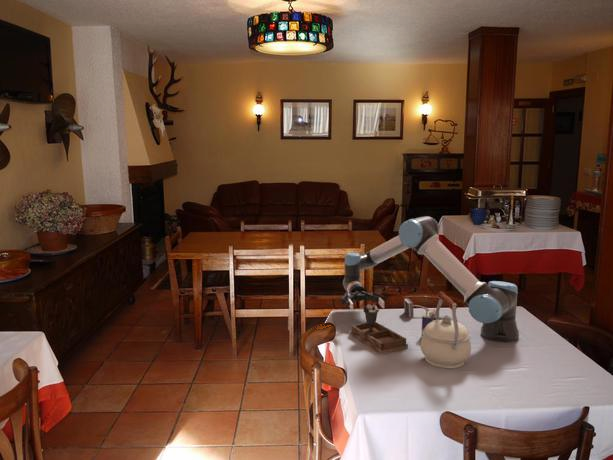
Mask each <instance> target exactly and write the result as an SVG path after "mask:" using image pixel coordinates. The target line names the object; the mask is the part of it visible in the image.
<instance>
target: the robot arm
mask: <svg viewBox="0 0 613 460" xmlns="http://www.w3.org/2000/svg"><path fill="white" fill-rule="evenodd" d="M439 233H440V225H439V223H438V221H437V220H436V219H435V218H433V217H431V216H429V215H428V216H427V215H424V216H419V217H416V218H409V219H408V220H406V221H403V223H402V224H401V225H400V227H399V229H398V235H397V236H394V237H393V238H391V239H389V240H388V241H385V242H383V243H381V244H379V245H378V246H376V247H374V248H373V249H371V250H367V252H365V253H362V254H360V253H359V252H347V253H346V254H345V256H344V278H343V280H342V285H343V288H344V290H345V291H346V292H344V295H343V296H342V297H340V305H345V307H349V309H350V310H351V311H353V310H354V303H353V302H361V301H367V302H369V301H370V302H372V301H373V302H374V298H376V299H375V303H378V305H379V306H380V307H381V308H382V309H385V303H387V296H385V295H382V294H380V293H377V292H375V291H371V293H370V292H368V291H367V290H366V288H365V287H364V286H363V285H362V283H361V271H365V270H367V269H371V268H374V267H376V266H377V265H378V264H380V263H382V262H384V261H386V260H388V259H390V258H392V257H394V256H396V255H398V254H400V253H402V252H404V251H407V250H408V249H413V250H414V251H415V252H416V253H417V254H418V255H424V256H425V257H426V258H427V260H429V262H431V264H432V265H433V266H434V267H435V268H436V269H437V270H438V271H439V272H441V274H442V275H443V276H444V277H445V278H446V279H447V280H448V282H450V283H451V284H452V285H453V286H454V287H455V289H456V290H458V292H460V294H461V295H462V296H463V298H464V299H463V302H464V303H465V304H466V305H467V306H468V312H469V315H470V316H471V318H473V319H474V321H476V322H477V323H482V326H481V327H480V328H481V329H480V335H481V336H482V337H483V338H485V339H488V340H490V341H495V342H503V343H508V342H509V343H511V342H515V341H517V340H519V338H520V337H519V336H520V332H519V331H520V330H519V329H518V325H517V320H516V319H517V318H516V317H517V302H518V294H519V292H518V286H517V285H516V284H515V283H511V282H506V281H500V280H498V281H497V280H492V281H491V280H490V281H488V283H487V282H485V281H480V280H479V279H478V278H477V277H476V276H475V275H474V274H473V273H472V272H471V271H470V270H469V269H468V268H467V267H466V266H465V265H464V264H463V263H461V261H460V260H459V259H458V258H457V257H456V256H455V255H454V254H453V253H452V252H451V251H450V250H449V249H448V248H447V247H446V246H445V245H444V244H443V243H442V242H441V241H440V239H439V237H440V235H439Z"/></svg>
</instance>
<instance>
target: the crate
mask: <svg viewBox="0 0 613 460" xmlns="http://www.w3.org/2000/svg"><path fill="white" fill-rule="evenodd" d="M350 327H351V330H350V331H349V335H350V336H351V337H352V338H355V339H356V340H357V341H359V342H361V343H362V344H364V345H365V346H367V347H369V348H370V349H372V350H373V351H375V352H377V353H378V354H380V355H383V354H388V353H393V352H396V351H401V350H406V349H408V348H409V344H408V343H407V338H406V337H404V336H402V335H401V334H398V333H397V332H396V331H393V330H391V329H390V328H388V327H386V326H385V325H383V324H380V323H379V322H377V321H376V323H375V324H374V325H372V329H373V331H376V332H373V333H368V334H367V333H365V331H367V330H369V328H370V325H369V324H367V322H363V323H358V324H352V325H351V326H350Z"/></svg>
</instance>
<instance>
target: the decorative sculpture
mask: <svg viewBox="0 0 613 460" xmlns="http://www.w3.org/2000/svg"><path fill="white" fill-rule="evenodd" d="M403 306H404V307H403V309H404V313H405V312H406V313H408V318H413V317H414V307H416V308H421V309H422V310H425V316H426V315H427V316H429V315H430V316H431V315H432V314H433V312H434V313H435V315H436V309H432V310H431V311H430V308H428V307H426V306H422V305H420V304H419V305H418V304H414V303H413V302H412V301H411V299H410V298H404V299H403ZM428 311H429V313H428Z"/></svg>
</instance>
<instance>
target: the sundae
mask: <svg viewBox="0 0 613 460" xmlns="http://www.w3.org/2000/svg"><path fill="white" fill-rule="evenodd" d="M375 299H376V298H374V301H370V302H369V303H367V305H366V306H363V309H362V310H363V312H364V315H365V323H367V324H369V325H370V328H369V330H367V331H365V333H367V334H368V333H373V332H376V331H373V329H372V325H374V324H375V323H376V322H377V317H378V313H379V312H380V309H379V308H378V307H377V303H376V302H375Z"/></svg>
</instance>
